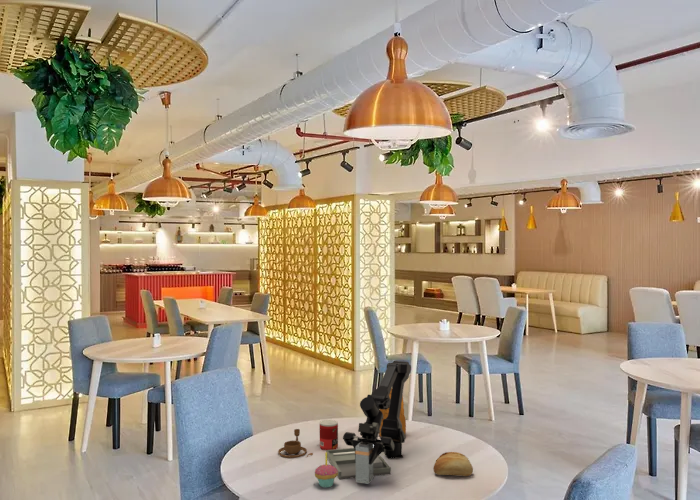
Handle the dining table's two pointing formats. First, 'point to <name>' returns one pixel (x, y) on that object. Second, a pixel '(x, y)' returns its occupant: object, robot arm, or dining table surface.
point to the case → (353, 463)
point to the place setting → (293, 447)
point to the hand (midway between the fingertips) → (363, 463)
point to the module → (364, 462)
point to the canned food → (328, 434)
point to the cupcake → (326, 474)
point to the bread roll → (453, 464)
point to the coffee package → (402, 417)
